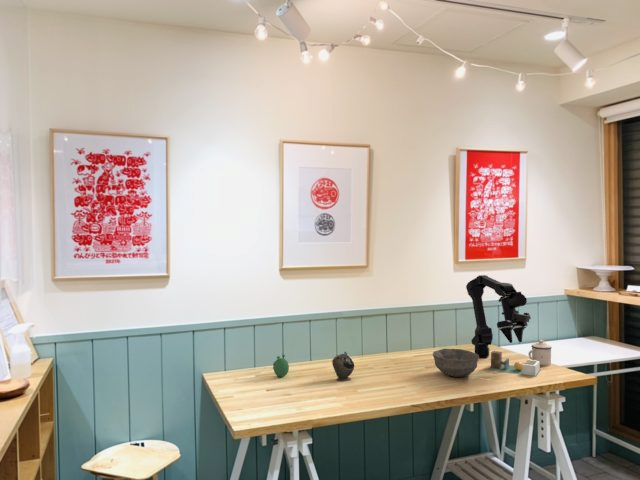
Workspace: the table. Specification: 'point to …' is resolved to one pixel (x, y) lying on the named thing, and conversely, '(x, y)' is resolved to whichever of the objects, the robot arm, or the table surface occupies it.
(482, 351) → the robot arm
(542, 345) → the teacup with lid
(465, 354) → the bowl
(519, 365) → the ball
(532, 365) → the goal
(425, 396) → the table surface
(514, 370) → the pitch
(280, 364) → the alien toy
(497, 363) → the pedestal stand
